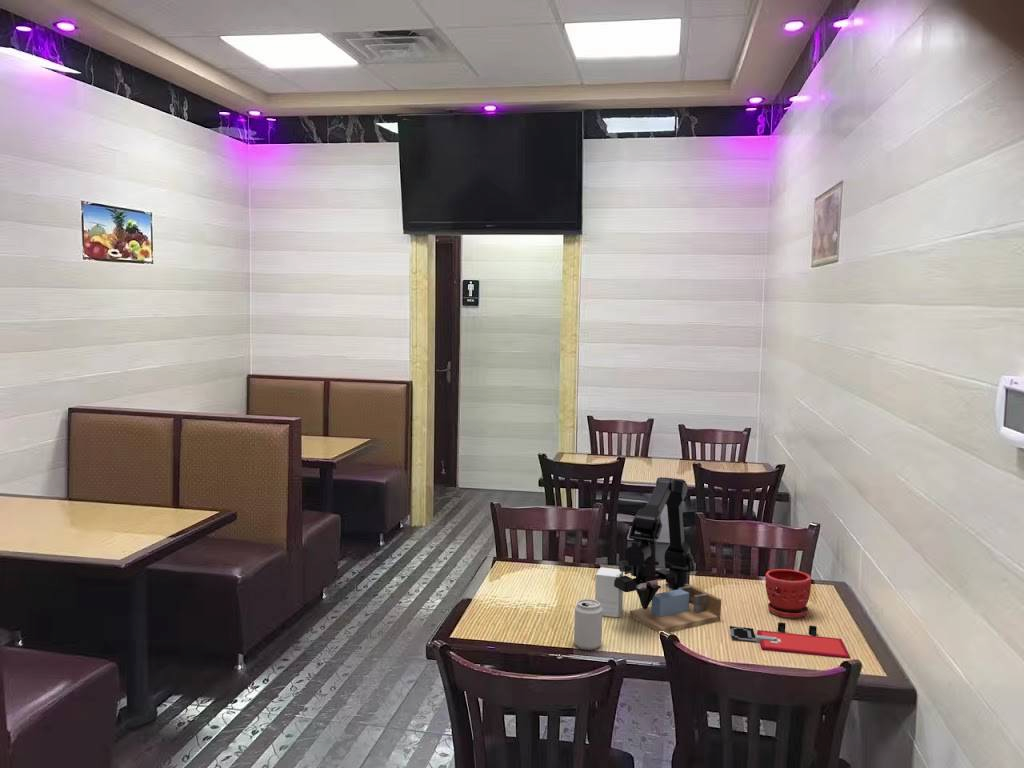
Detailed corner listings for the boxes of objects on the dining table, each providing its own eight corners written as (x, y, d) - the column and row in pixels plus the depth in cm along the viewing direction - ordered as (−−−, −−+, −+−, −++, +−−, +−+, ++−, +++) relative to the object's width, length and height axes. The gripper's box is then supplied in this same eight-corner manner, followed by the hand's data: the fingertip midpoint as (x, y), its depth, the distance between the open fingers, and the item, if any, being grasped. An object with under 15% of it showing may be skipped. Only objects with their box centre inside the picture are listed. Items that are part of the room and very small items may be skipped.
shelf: (686, 603, 243) (687, 583, 242) (720, 620, 229) (721, 599, 229) (629, 615, 232) (630, 594, 232) (661, 634, 219) (662, 611, 219)
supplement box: (623, 609, 237) (624, 569, 236) (618, 618, 230) (619, 576, 229) (599, 606, 239) (600, 566, 238) (594, 614, 233) (595, 573, 231)
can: (571, 639, 214) (572, 597, 213) (598, 639, 215) (599, 597, 214) (576, 651, 207) (577, 607, 206) (604, 650, 208) (605, 607, 206)
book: (679, 606, 236) (680, 589, 236) (688, 611, 233) (689, 593, 232) (651, 612, 231) (651, 594, 231) (659, 617, 228) (660, 599, 227)
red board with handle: (728, 626, 226) (732, 648, 211) (729, 617, 225) (733, 639, 211) (838, 637, 220) (850, 661, 205) (838, 628, 219) (850, 651, 205)
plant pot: (810, 609, 240) (812, 571, 239) (807, 624, 228) (809, 584, 227) (766, 602, 245) (768, 565, 244) (761, 616, 234) (763, 577, 233)
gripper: (654, 545, 237) (652, 594, 239) (603, 553, 228) (602, 604, 230) (678, 555, 227) (676, 606, 229) (626, 564, 219) (624, 617, 220)
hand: (644, 608), depth 227 cm, fingers closed
